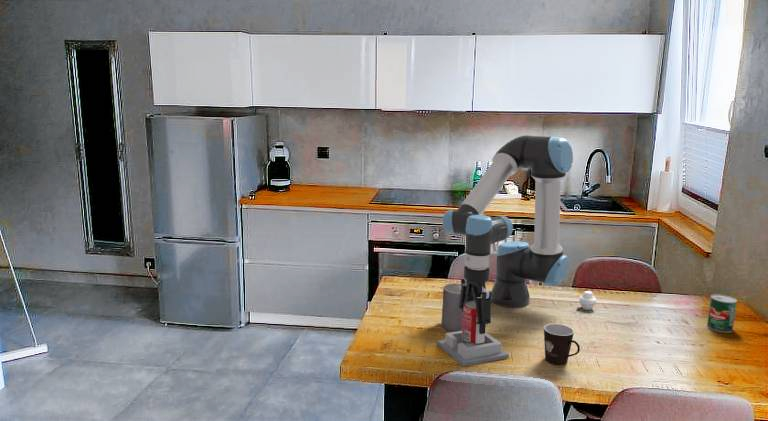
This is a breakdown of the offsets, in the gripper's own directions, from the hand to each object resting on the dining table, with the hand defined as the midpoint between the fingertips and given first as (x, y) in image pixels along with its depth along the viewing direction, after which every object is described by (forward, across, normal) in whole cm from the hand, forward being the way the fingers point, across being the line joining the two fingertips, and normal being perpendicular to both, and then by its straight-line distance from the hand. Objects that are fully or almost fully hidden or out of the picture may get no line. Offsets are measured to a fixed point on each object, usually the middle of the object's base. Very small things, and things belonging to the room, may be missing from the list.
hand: (473, 337), depth 174 cm
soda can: (+1, 0, 0) cm, 1 cm away
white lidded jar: (+5, -16, +60) cm, 62 cm away
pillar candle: (+5, -19, +5) cm, 20 cm away
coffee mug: (+5, +16, +20) cm, 26 cm away
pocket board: (+4, 0, 0) cm, 4 cm away
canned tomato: (+5, +15, +91) cm, 92 cm away
